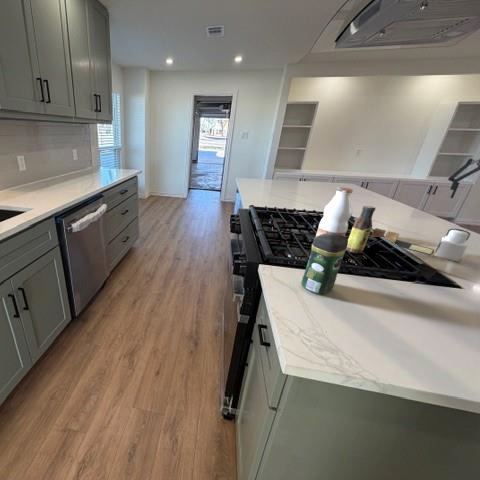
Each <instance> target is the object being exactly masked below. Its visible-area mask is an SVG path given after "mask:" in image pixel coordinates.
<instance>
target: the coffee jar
mask: <svg viewBox="0 0 480 480" xmlns="http://www.w3.org/2000/svg"><path fill="white" fill-rule="evenodd" d="M347 245H348V238H347V237H346V235H345V236H342V235H339V234H336V233H333V232H332V233H327V234H322V235H319V236H316V235H315V236H314V238H313V241H312V244H311V250H310V255H309V257H308V261H307V264H306V268H305V270H304V273H303V276H302V279H301V282H300V285H301V286H302V287H303V288H304V289H305V290H306V291H308V292H310V293H313V294H317V295H324V294H327V293H329V292H331V291H332V290H333V289H334V287H335V283H336V281H337V278H338V277H337V276H338V273H339V270H340V267H341V264H342V261H343V258H344V256H345V253H346V251H347V250H346V248H347Z"/></svg>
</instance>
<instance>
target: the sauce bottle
mask: <svg viewBox="0 0 480 480" xmlns="http://www.w3.org/2000/svg"><path fill="white" fill-rule="evenodd" d="M375 211H376V207H375V206H373V205H372V206H371V205H363V206H362V210H361V213H360V216H359V217H357V218H356V219H355V220H354V223H353V226H352V227H351V230H350V233H349V235H348V238H347V240H348V245H347V248H346V251H347V252H350V253H353V254H362V253H363V252H364V250H365V247H366V245H367V241H368V240H369V239H368V238H369V237H370V234H371V231H372V229H373V215H374V212H375Z"/></svg>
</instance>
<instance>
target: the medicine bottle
mask: <svg viewBox="0 0 480 480" xmlns="http://www.w3.org/2000/svg"><path fill="white" fill-rule="evenodd" d="M470 236H471V233H470V232H469V231H467V230H465V229H460V228H450V229H448V230H447V233H446V234H445V236H442V237H441V239H440V241H439V242H438V244H437V246H436V249H435V250H434V256H435V257H439V258H443V259H446V260H447V259H448V260H449V261H452V262H457V263H459V262H460V260H461V259H462V257H463V255H464V254H465V251H466V250H467V248H468V243H467V241H468V240H469V238H470Z"/></svg>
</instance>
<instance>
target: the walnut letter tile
mask: <svg viewBox="0 0 480 480" xmlns="http://www.w3.org/2000/svg"><path fill="white" fill-rule="evenodd" d="M386 233H387V230H385V229H383V228H382V229H381V228H378V227H376V228H374V229H373V231H372V233H371V235H370V236H371V238H372V237H385V235H386ZM375 239H376V238H375Z"/></svg>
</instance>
